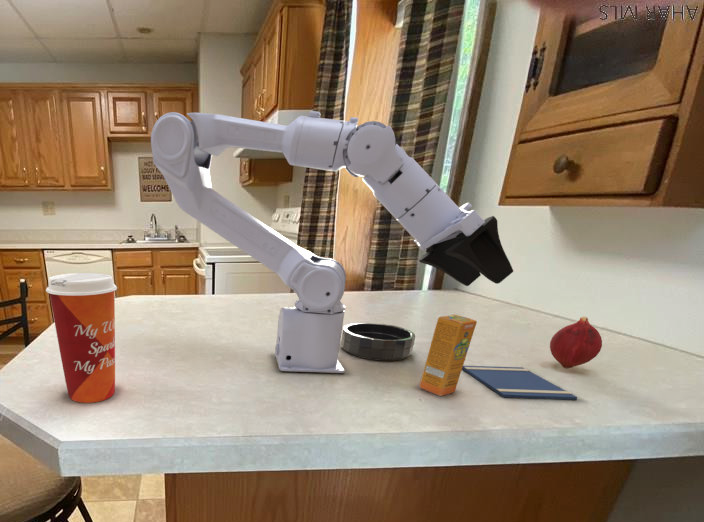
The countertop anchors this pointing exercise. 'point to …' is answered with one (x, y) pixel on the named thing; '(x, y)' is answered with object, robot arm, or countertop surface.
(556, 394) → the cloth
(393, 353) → the pan
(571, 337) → the onion
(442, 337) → the supplement box
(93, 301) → the coffee cup
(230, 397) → the countertop surface
